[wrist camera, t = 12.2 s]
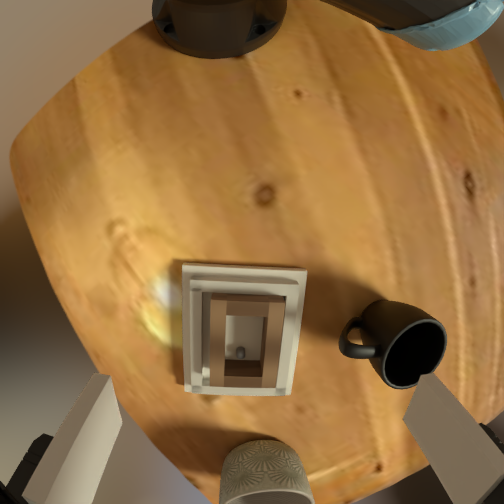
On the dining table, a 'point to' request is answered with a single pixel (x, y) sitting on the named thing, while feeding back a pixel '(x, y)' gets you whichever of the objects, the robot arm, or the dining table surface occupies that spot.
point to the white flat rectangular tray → (238, 322)
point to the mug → (397, 342)
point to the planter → (264, 475)
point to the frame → (267, 367)
